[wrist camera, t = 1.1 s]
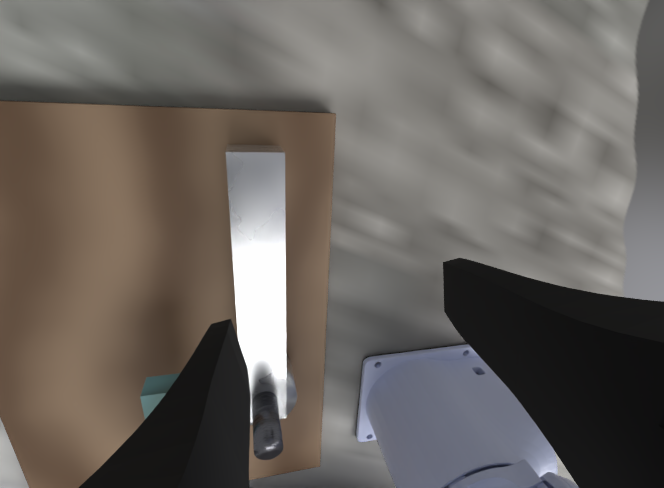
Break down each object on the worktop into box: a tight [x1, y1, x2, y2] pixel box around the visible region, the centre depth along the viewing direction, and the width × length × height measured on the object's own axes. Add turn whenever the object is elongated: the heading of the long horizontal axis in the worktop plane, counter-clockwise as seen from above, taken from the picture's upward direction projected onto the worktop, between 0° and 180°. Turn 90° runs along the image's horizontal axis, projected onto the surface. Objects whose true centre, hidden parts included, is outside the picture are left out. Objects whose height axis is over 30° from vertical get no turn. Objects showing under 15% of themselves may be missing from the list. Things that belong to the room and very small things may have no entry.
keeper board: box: [0, 100, 336, 488], centre depth 19 cm, size 18×25×5 cm
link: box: [226, 144, 297, 460], centre depth 17 cm, size 15×4×5 cm, turn 177°
